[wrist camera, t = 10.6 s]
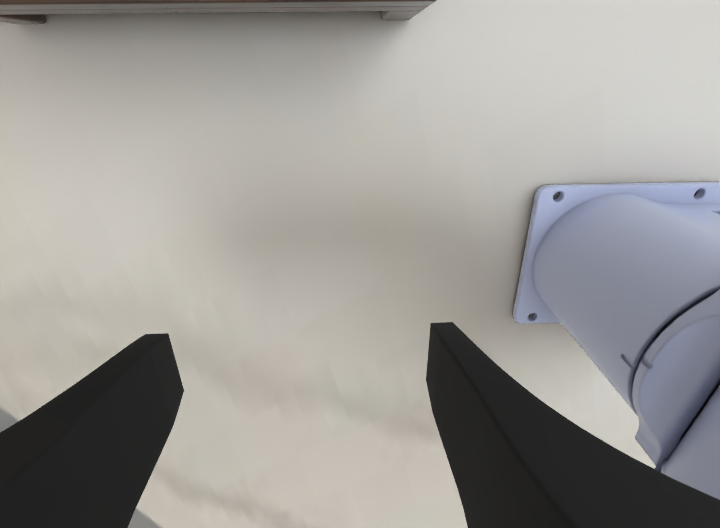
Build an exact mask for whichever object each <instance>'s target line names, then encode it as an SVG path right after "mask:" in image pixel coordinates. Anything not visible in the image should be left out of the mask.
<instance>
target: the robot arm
mask: <svg viewBox="0 0 720 528" xmlns="http://www.w3.org/2000/svg"><path fill="white" fill-rule="evenodd" d="M698 189H699V192H698V193H697V194H696V195H695V196H694V193H695V192H696V191H697V190H698ZM559 191H560V195H559V197H558V198H557V199H554V200H553V196H554V194H555V193H556V192H559ZM531 313H534V315H532V316H531V317H528V316H529V315H530V314H531ZM513 318H514V319H515V321H516V322H517V323H519V324H539V323H561V324H562V325H563V326H564V327H565V329H566V330H567V331H568V332H569V333H570V335H571V336H572V337H573V338H574V340H575V341H576V342H577V343H578V344H579V346H580V347H581V348H582V349H583V350H584V352H585V353H586V354H587V355H588V357H589V358H590V359H591V360H592V361H593V363H594V364H595V365H596V366H597V367H598V369H599V370H600V371H601V372H602V374H603V375H604V376H605V377H606V378H607V380H608V381H609V382H610V383H611V384H612V386H613V387H614V388H615V389H616V391H617V392H618V393H619V394H620V395H621V397H622V398H623V399H624V400H625V401H626V403H627V404H628V405H629V406H630V407H631V409H632V410H633V411H634V412H635V414H636V415H637V416H638V418H639V429H638V431H637V434H636V436H635V439H636V440H637V442H638V443H639V444H640V446H641V447H642V448H643V450H644V451H645V452H646V453H647V455H648V456H649V457H650V459H651V460H652V461H653V463H654V464H655V465H656V466H657V467H656V468H655V469H653V468H651V467H649V466H647V465H645V464H643V463H641V462H639V461H638V460H636V459H634V458H632V457H630V456H628V455H626V454H625V453H623V452H621V451H619V450H617V449H616V448H614V447H612V446H610V445H609V444H607V443H605V442H604V441H602V440H600V439H599V438H597V437H595V436H594V435H592V434H590V433H589V432H587V431H585V430H584V429H582V428H580V427H579V426H577V425H576V424H574V423H573V422H571V421H570V420H568V419H567V418H565V417H564V416H562V415H561V414H559V413H558V412H556V411H555V410H554V409H552V408H551V407H549V406H548V405H546V404H545V403H544V402H542V401H541V400H539V399H538V398H537V397H535V396H534V395H533V394H531V393H530V392H529V391H528V390H527V389H525V388H524V387H523V386H522V385H520V384H519V383H518V382H517V381H515V380H514V379H513V378H512V377H510V376H509V375H508V374H507V373H506V372H505V371H503V370H502V369H501V368H500V367H499V366H498V365H497V364H496V363H495V362H493V361H492V360H491V359H490V358H489V357H488V356H487V355H486V354H485V353H484V352H483V351H482V350H481V349H480V348H478V347H477V346H476V345H475V344H474V343H473V342H472V341H471V340H470V339H469V338H468V337H467V336H466V335H465V334H464V333H463V332H462V331H461V330H460V329H459V328H458V327H457V326H456V325H455V324H454V323H453V322H446V323H431V327H430V339H429V352H428V364H427V376H426V381H427V386H428V391H429V397H430V402H431V406H432V411H433V415H434V418H435V421H436V424H437V427H438V430H439V433H440V437H441V440H442V443H443V446H444V449H445V452H446V455H447V458H448V461H449V464H450V467H451V470H452V473H453V476H454V479H455V482H456V485H457V488H458V491H459V494H460V498H461V501H462V505H463V509H464V513H465V517H466V521H467V526H468V528H720V182H671V183H618V184H564V185H544V186H542V187H540V188H539V189H538V190H537V191H536V194H535V198H534V203H533V209H532V214H531V219H530V225H529V230H528V235H527V241H526V246H525V251H524V257H523V262H522V267H521V273H520V278H519V283H518V289H517V294H516V299H515V305H514V310H513ZM183 392H184V389H183V386H182V382H181V378H180V375H179V371H178V367H177V364H176V360H175V356H174V353H173V349H172V345H171V342H170V338H169V335H168V333H167V334H145V335H144V336H142V337H140V338H139V339H137V340H136V341H134V342H133V343H131V344H130V345H129V346H127V347H126V348H124V349H123V350H122V351H120V352H119V353H118V354H116V355H115V356H113V357H112V358H111V359H109V360H108V361H107V362H105V363H104V364H102V365H101V366H100V367H98V368H97V369H95V370H94V371H93V372H91V373H90V374H89V375H87V376H86V377H84V378H83V379H82V380H80V381H79V382H77V383H76V384H75V385H73V386H72V387H70V388H69V389H67V390H66V391H64V392H63V393H61V394H60V395H58V396H57V397H55V398H54V399H52V400H51V401H49V402H48V403H46V404H45V405H43V406H42V407H40V408H39V409H37V410H36V411H35V412H33V413H31V414H30V415H28V416H27V417H25V418H24V419H22V420H20V421H19V422H17V423H16V424H14V425H12V426H11V427H9V428H7V429H6V430H4V431H2V432H1V433H0V528H127V527H128V525H129V523H130V520H131V518H132V515H133V513H134V511H135V508H136V506H137V504H138V502H139V500H140V497H141V495H142V493H143V491H144V489H145V487H146V484H147V482H148V480H149V478H150V476H151V473H152V471H153V469H154V467H155V465H156V463H157V461H158V458H159V456H160V454H161V452H162V450H163V447H164V445H165V443H166V441H167V438H168V436H169V434H170V432H171V429H172V427H173V425H174V422H175V418H176V415H177V412H178V409H179V406H180V402H181V399H182V395H183Z"/></svg>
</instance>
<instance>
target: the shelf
mask: <svg viewBox="0 0 720 528" xmlns="http://www.w3.org/2000/svg"><path fill="white" fill-rule="evenodd" d="M435 1H436V0H0V22H6V23H14V24H43V23H45V19H44V16H43V14H114V13H218V12H321V11H381V18H382V20H409V19H411V18H412V17H414V16H415V15H416V14H418V13H419V12H421V11H422V10H423V9H425V8H426V7H428V6H429V5H431V4H432V3H434V2H435Z"/></svg>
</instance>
